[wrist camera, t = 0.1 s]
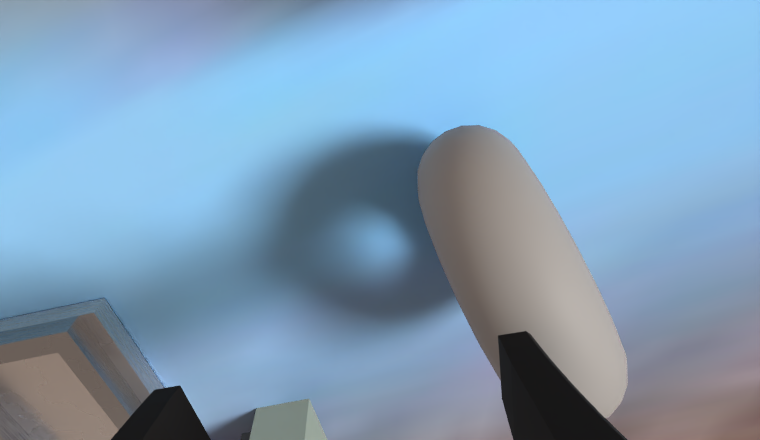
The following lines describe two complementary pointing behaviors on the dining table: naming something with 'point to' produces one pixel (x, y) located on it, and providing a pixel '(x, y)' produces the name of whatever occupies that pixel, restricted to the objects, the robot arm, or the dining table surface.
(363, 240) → the dining table surface
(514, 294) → the donut
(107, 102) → the dining table surface
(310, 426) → the pale green cuboid
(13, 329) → the tray
